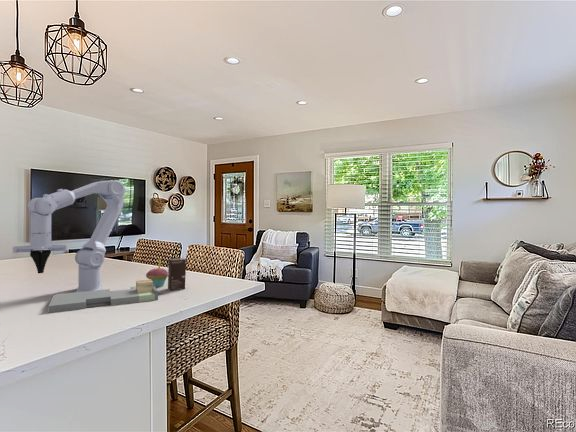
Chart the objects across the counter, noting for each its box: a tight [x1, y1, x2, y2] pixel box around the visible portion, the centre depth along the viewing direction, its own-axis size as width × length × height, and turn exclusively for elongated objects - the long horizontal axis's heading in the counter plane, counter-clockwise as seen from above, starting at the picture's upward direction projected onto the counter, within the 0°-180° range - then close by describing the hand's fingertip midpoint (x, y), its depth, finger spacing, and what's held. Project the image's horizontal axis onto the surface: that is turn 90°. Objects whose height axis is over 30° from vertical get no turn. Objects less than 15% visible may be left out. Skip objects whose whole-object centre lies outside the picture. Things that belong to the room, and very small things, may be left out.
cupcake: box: [145, 257, 168, 288], centre depth 133 cm, size 9×8×12 cm
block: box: [135, 278, 153, 293], centre depth 117 cm, size 5×5×4 cm
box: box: [167, 257, 187, 291], centre depth 128 cm, size 6×4×12 cm
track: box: [47, 284, 159, 313], centre depth 111 cm, size 15×31×3 cm, turn 121°
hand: (40, 272), depth 109 cm, fingers closed
